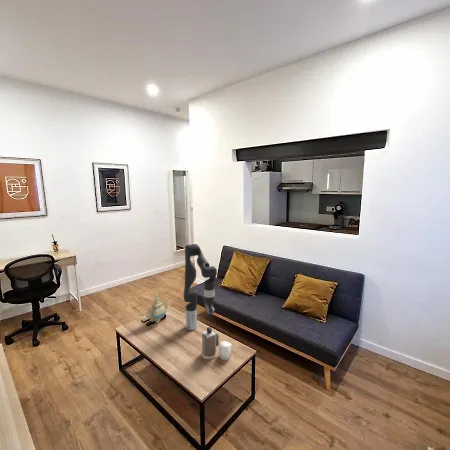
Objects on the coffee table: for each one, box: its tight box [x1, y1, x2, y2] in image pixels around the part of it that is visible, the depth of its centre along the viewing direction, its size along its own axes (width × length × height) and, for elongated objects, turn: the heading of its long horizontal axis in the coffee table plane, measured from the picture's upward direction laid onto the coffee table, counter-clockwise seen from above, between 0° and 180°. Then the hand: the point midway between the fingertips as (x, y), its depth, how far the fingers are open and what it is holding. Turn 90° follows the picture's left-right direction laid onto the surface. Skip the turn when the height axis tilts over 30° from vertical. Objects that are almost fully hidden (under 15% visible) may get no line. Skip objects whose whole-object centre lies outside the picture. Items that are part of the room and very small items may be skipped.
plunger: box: [206, 327, 213, 334], centre depth 178 cm, size 4×4×17 cm
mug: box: [218, 340, 233, 361], centre depth 178 cm, size 8×10×9 cm
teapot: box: [144, 290, 169, 324], centre depth 218 cm, size 24×12×30 cm, turn 144°
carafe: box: [201, 329, 220, 360], centre depth 179 cm, size 11×13×16 cm
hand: (209, 317), depth 176 cm, fingers closed
